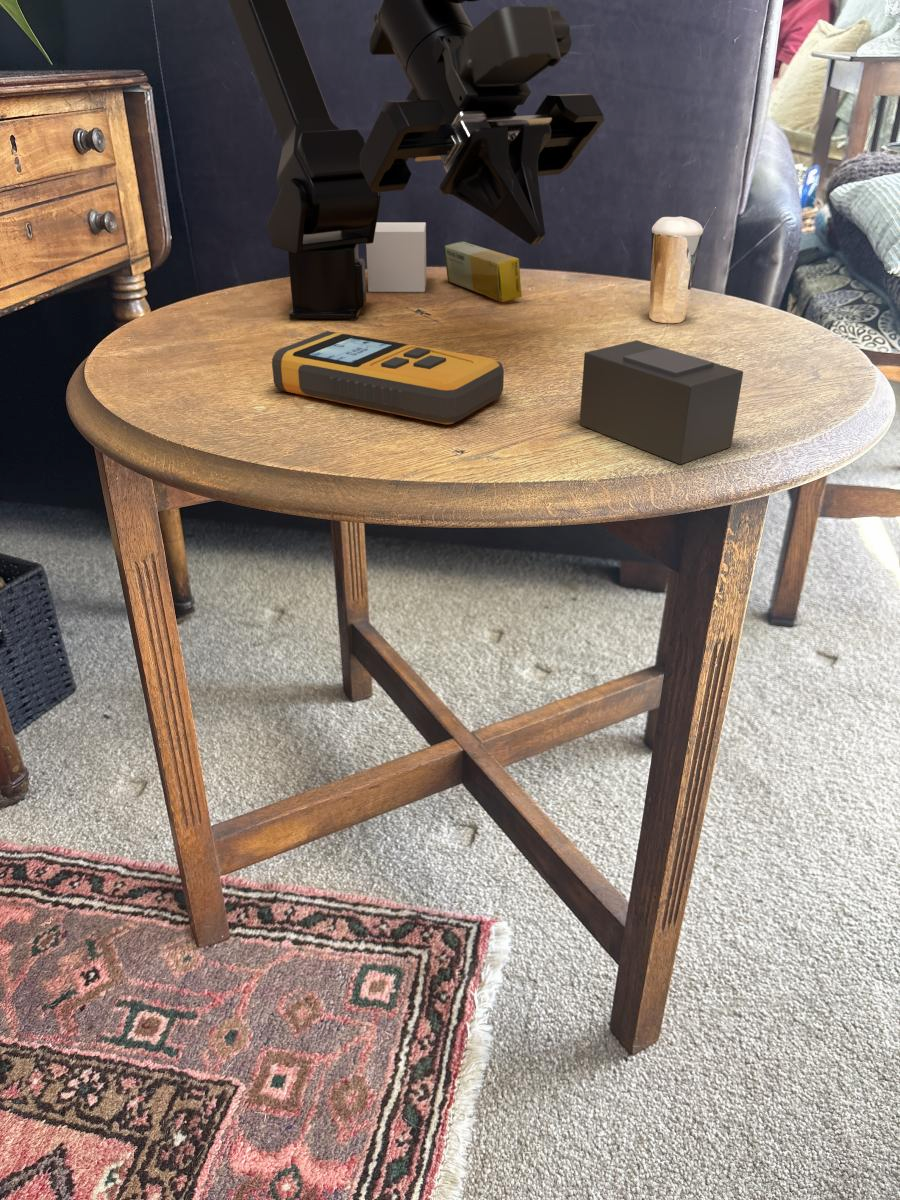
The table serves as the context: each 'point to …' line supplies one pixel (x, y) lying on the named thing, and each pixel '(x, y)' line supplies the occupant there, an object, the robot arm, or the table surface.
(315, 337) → the electronic device
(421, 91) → the robot arm
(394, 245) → the white cube
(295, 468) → the table surface
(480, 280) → the medication box
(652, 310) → the milkshake
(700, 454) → the block
